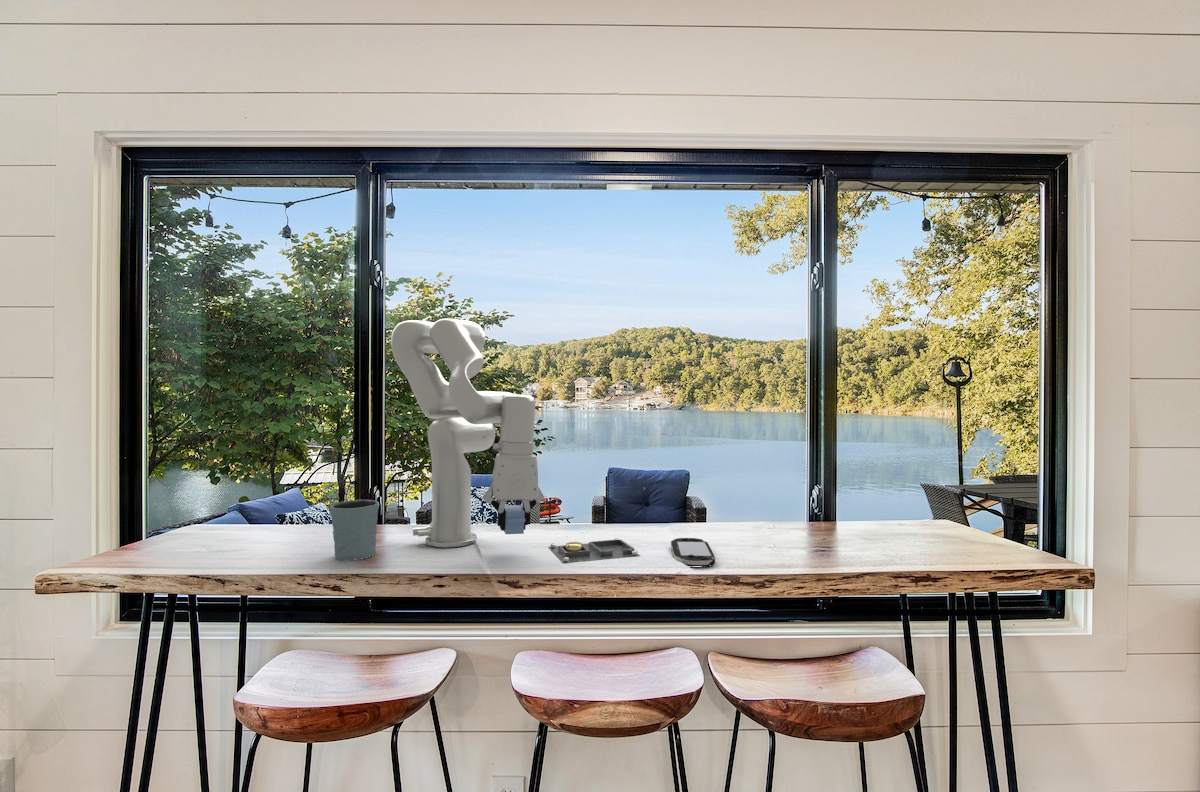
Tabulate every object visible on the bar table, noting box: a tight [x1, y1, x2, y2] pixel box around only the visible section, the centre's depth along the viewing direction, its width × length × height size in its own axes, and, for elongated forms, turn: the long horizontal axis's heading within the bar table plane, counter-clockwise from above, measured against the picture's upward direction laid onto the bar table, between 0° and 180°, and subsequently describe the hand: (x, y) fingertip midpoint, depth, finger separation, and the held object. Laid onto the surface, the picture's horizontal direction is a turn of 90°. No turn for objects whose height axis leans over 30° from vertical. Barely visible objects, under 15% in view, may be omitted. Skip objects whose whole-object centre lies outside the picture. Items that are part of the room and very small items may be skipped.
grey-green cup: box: [329, 499, 380, 561], centre depth 130 cm, size 10×10×12 cm
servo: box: [503, 504, 525, 535], centre depth 129 cm, size 4×8×5 cm, turn 19°
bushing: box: [565, 541, 583, 552], centre depth 129 cm, size 4×4×2 cm
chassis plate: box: [547, 537, 641, 564], centre depth 131 cm, size 18×14×2 cm
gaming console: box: [670, 537, 716, 567], centre depth 131 cm, size 19×9×2 cm, turn 177°
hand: (512, 527), depth 129 cm, fingers closed on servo, 4 cm apart
